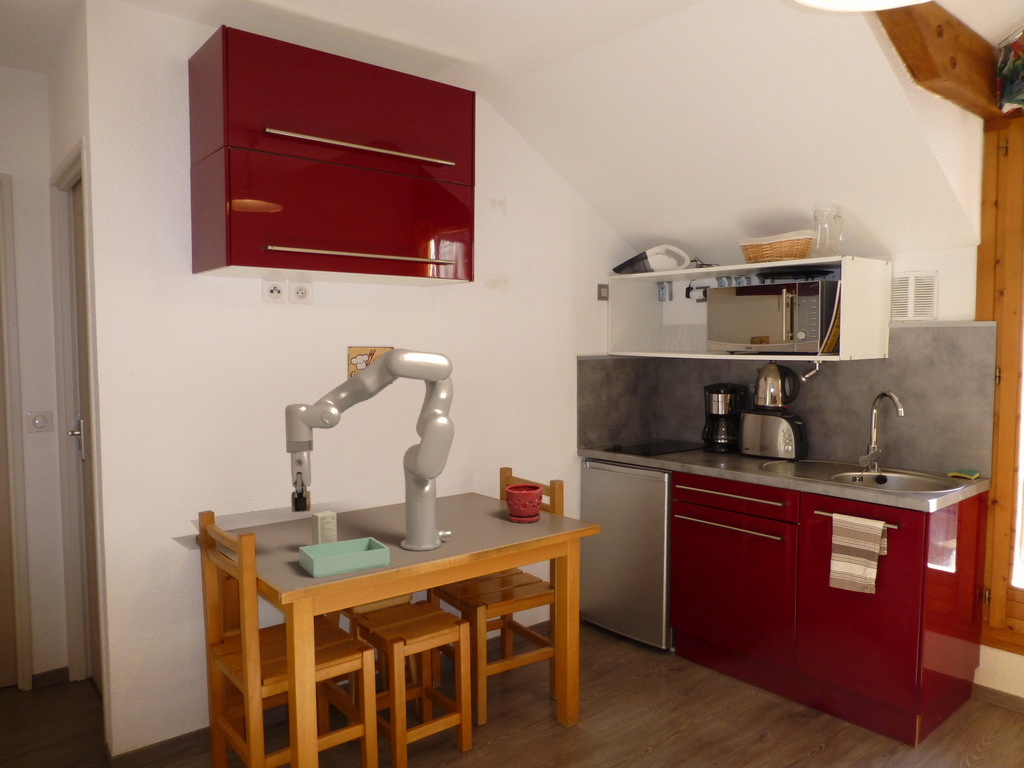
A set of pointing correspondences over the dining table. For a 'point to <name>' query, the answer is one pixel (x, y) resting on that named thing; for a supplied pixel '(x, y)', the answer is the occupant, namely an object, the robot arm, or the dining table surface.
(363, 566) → the tote
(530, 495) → the plant pot
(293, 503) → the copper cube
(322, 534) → the skincare box
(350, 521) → the dining table surface
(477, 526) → the dining table surface
